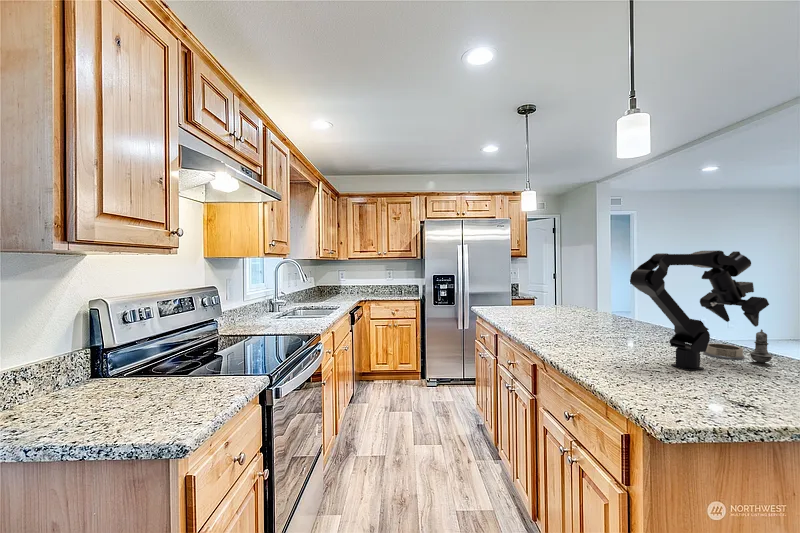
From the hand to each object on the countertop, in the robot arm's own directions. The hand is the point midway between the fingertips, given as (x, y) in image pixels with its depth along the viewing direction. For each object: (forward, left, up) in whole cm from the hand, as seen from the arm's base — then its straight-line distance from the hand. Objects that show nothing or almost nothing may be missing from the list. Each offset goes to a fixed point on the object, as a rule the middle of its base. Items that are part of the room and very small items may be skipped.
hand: (742, 323), depth 131 cm
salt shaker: (+7, -1, -14) cm, 16 cm away
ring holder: (+7, +11, -14) cm, 19 cm away
